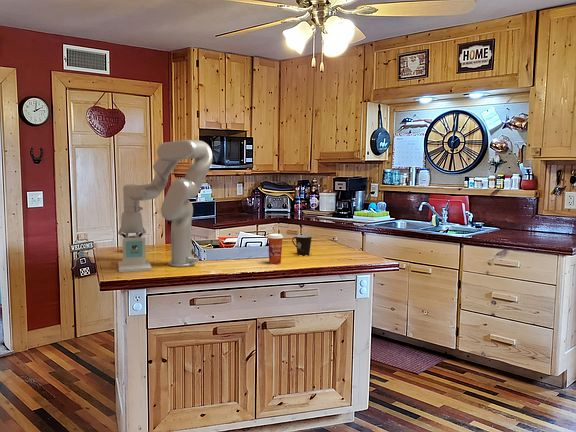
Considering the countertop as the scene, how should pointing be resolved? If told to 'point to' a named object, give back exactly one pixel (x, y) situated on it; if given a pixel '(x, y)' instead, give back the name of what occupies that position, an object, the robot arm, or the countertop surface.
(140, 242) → the spacer
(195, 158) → the robot arm
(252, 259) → the countertop surface
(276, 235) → the paper cup
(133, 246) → the shaft
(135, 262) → the bracket
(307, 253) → the coffee mug
